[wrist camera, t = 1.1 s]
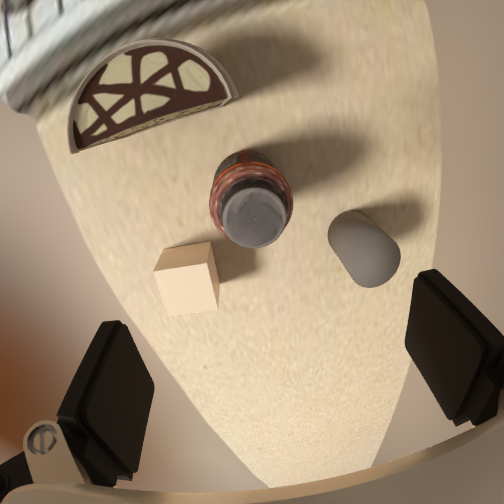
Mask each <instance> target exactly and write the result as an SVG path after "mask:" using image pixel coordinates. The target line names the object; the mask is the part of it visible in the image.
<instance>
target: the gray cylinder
mask: <svg viewBox="0 0 504 504" xmlns="http://www.w3.org/2000/svg"><path fill="white" fill-rule="evenodd" d="M328 241H329V243H330V245H331V247H332V249H333V250H334V251H335V253H336V254H337V256H338V257H339V259H340V260H341V262H342V263H343V265H344V266H345V268H346V270H347V271H348V273H349V274H350V276H351V277H352V279H353V280H354V281H355V282H356V283H357V284H358V285H360V286H362V287H367V288H373V287H377V286H380V285H382V284H384V283H386V282H387V281H388V280H390V279H391V278H392V277H393V275H394V274H395V273H396V271H397V269H398V267H399V264H400V259H401V254H400V249H399V247H398V245H397V244H396V242H395V241H394V240H393V239H391V238H390V237H389V236H388V235H387V234H386V233H385V232H384V231H383V230H381V229H380V228H379V227H378V226H377V225H376V224H375V223H374V222H372V221H371V220H370V219H369V218H368V217H367V216H365V215H364V214H363V213H361V212H359V211H346V212H343V213H341V214H340V215H338V216H337V217H336V218H335V219H334V220H333V221H332V223H331V225H330V227H329V230H328Z"/></svg>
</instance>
